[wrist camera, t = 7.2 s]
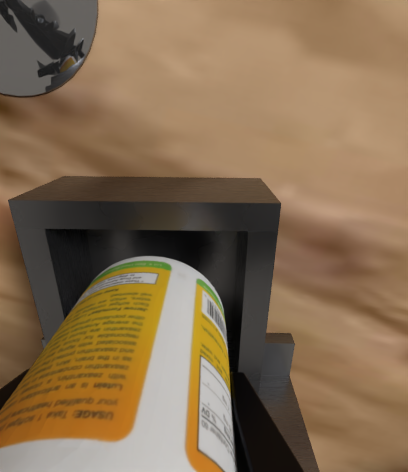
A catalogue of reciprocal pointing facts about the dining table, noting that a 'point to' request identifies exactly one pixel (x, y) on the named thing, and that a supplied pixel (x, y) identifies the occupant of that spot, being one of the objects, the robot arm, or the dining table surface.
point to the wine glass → (43, 43)
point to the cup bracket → (174, 247)
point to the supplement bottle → (129, 380)
